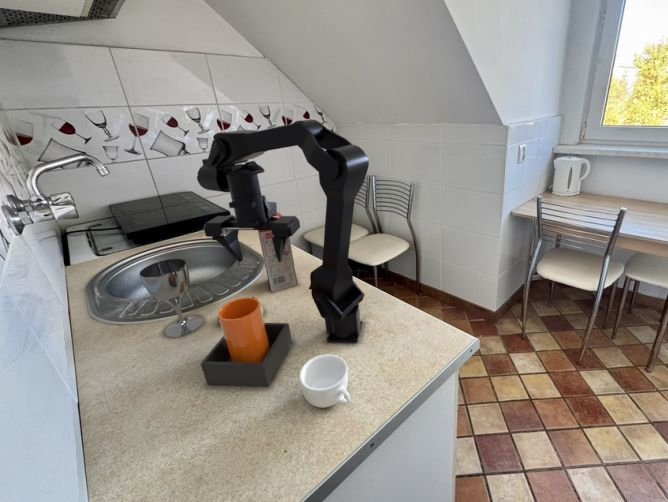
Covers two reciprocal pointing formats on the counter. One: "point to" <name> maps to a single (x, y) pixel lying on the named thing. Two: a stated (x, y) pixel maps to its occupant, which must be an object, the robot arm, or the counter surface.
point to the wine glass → (171, 291)
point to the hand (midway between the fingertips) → (260, 261)
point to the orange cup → (244, 330)
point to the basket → (248, 374)
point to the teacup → (325, 380)
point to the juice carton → (277, 272)
